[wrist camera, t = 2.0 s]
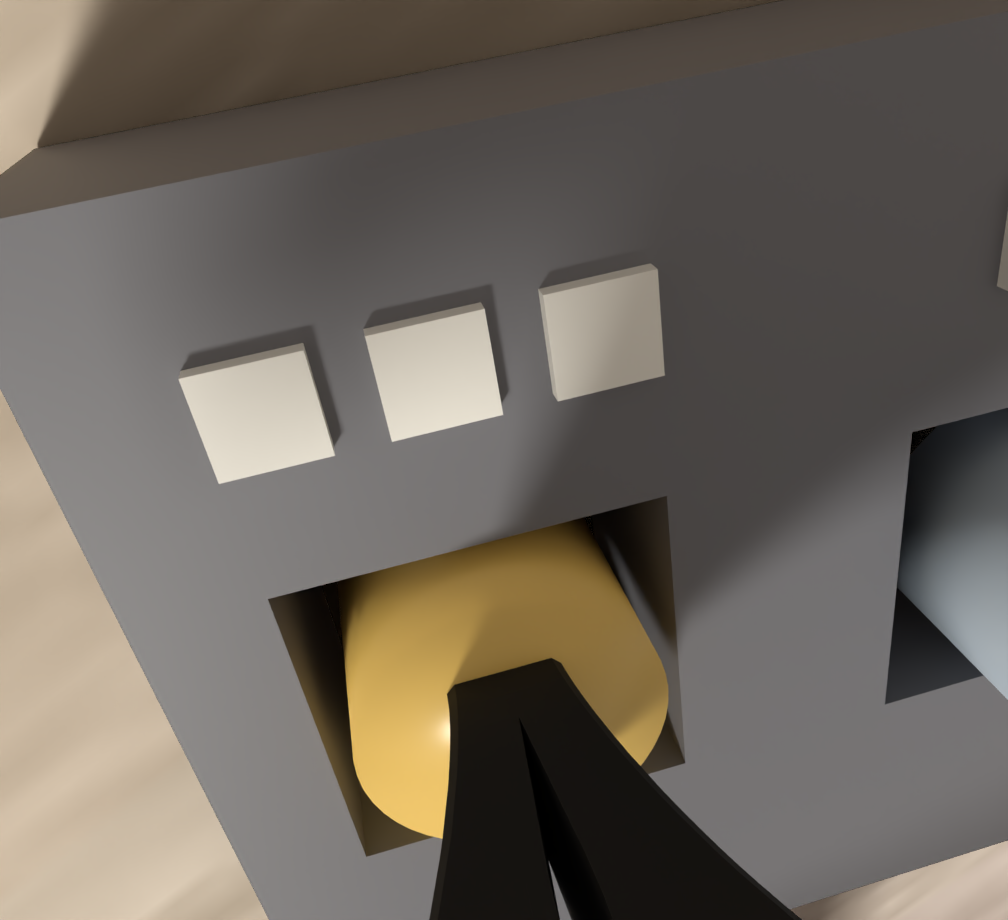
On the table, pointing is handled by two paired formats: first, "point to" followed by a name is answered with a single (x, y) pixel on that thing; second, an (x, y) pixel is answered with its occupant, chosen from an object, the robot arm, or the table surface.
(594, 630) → the button three
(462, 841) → the robot arm
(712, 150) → the button panel
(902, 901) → the table surface
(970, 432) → the button two
